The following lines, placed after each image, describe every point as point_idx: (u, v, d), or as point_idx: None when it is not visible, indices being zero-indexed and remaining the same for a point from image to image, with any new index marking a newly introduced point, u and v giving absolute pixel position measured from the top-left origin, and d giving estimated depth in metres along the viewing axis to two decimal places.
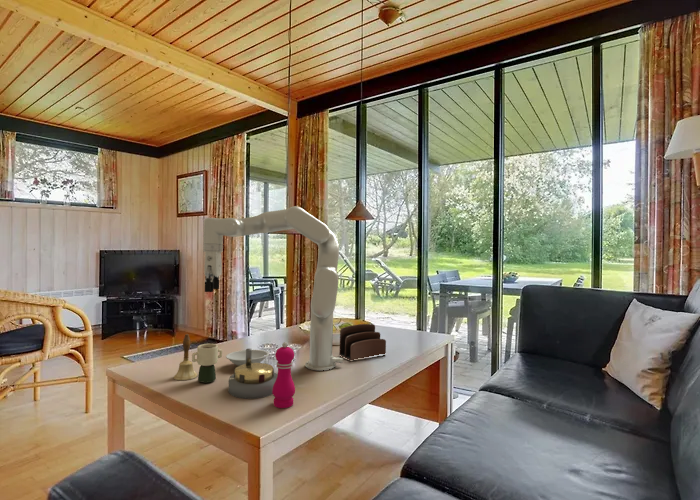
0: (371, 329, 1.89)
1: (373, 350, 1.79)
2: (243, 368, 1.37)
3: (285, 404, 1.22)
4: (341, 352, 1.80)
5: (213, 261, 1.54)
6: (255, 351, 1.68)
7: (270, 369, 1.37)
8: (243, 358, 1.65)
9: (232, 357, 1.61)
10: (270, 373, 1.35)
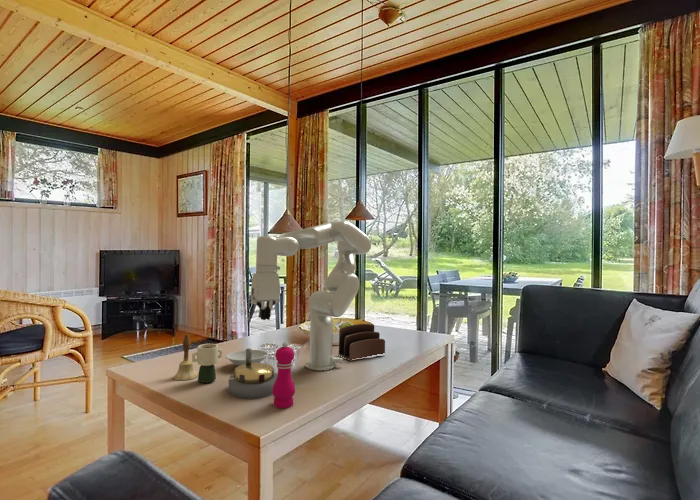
0: (370, 329, 1.89)
1: (372, 350, 1.79)
2: (243, 368, 1.37)
3: (285, 404, 1.22)
4: (340, 352, 1.80)
5: None
6: (255, 351, 1.68)
7: (270, 369, 1.37)
8: (243, 358, 1.65)
9: (232, 357, 1.61)
10: (270, 373, 1.35)
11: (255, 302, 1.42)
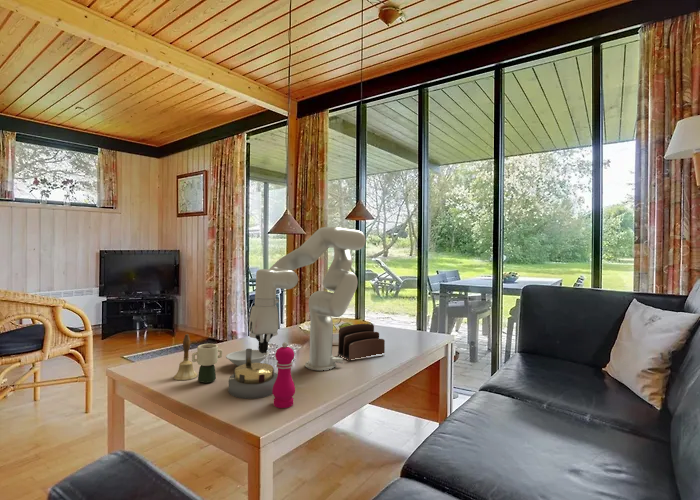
0: (370, 329, 1.89)
1: (372, 350, 1.79)
2: (243, 368, 1.37)
3: (285, 404, 1.22)
4: (340, 352, 1.81)
5: None
6: (255, 351, 1.68)
7: (270, 369, 1.37)
8: (243, 358, 1.65)
9: (232, 357, 1.61)
10: (270, 373, 1.35)
11: (254, 335, 1.42)
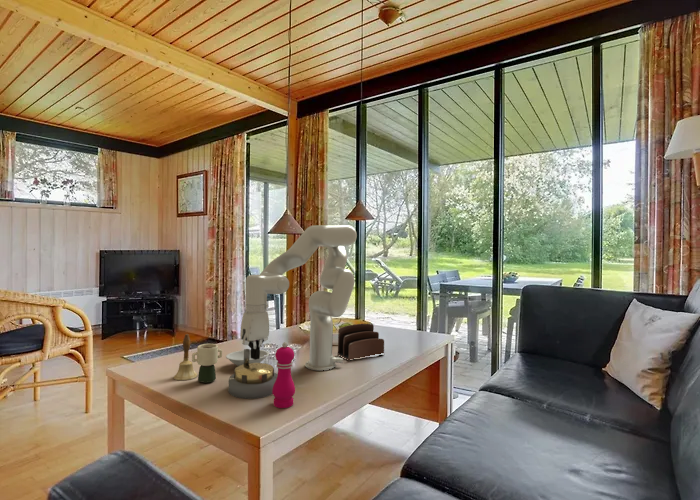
0: (369, 329, 1.89)
1: (371, 350, 1.79)
2: (243, 368, 1.37)
3: (285, 404, 1.22)
4: (339, 352, 1.81)
5: None
6: None
7: (270, 368, 1.37)
8: (243, 358, 1.65)
9: (232, 357, 1.61)
10: (271, 372, 1.36)
11: (247, 343, 1.40)
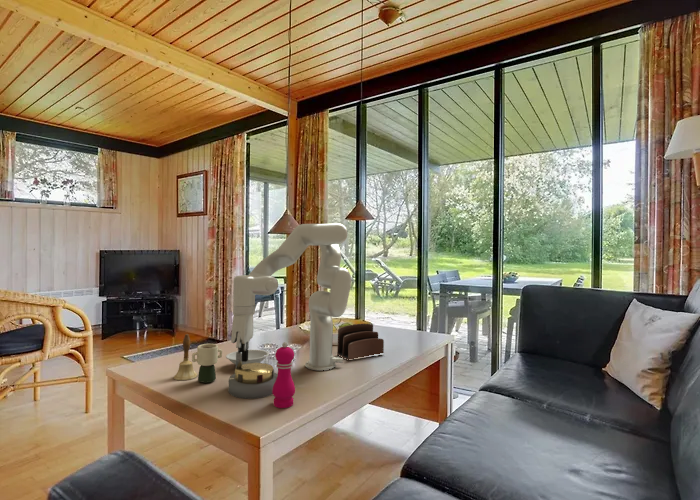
0: (369, 329, 1.90)
1: (371, 349, 1.80)
2: (245, 371, 1.34)
3: (285, 404, 1.22)
4: (339, 351, 1.81)
5: None
6: (255, 351, 1.68)
7: (267, 365, 1.41)
8: None
9: (232, 357, 1.61)
10: None
11: (240, 345, 1.36)
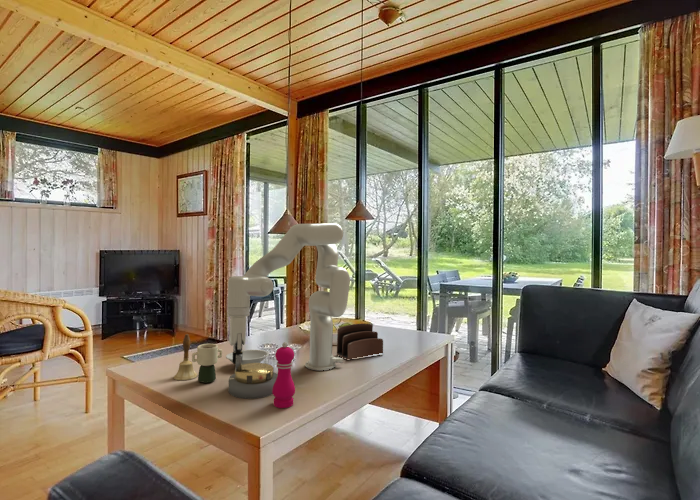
0: (368, 328, 1.90)
1: (370, 349, 1.80)
2: (250, 372, 1.33)
3: (285, 404, 1.22)
4: (338, 351, 1.81)
5: None
6: (255, 351, 1.68)
7: (260, 363, 1.43)
8: (243, 358, 1.65)
9: (232, 357, 1.61)
10: None
11: (240, 347, 1.35)
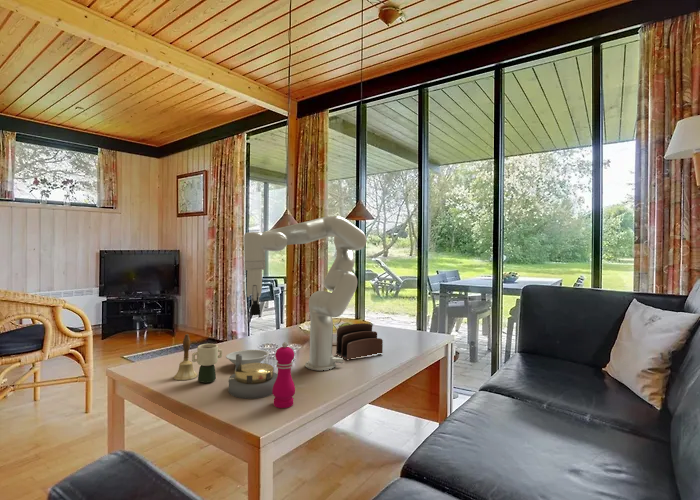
0: (368, 328, 1.90)
1: (370, 349, 1.80)
2: (250, 372, 1.33)
3: (285, 404, 1.22)
4: (338, 351, 1.81)
5: None
6: (255, 351, 1.68)
7: (260, 363, 1.43)
8: (243, 358, 1.65)
9: (232, 357, 1.61)
10: None
11: (256, 298, 1.41)
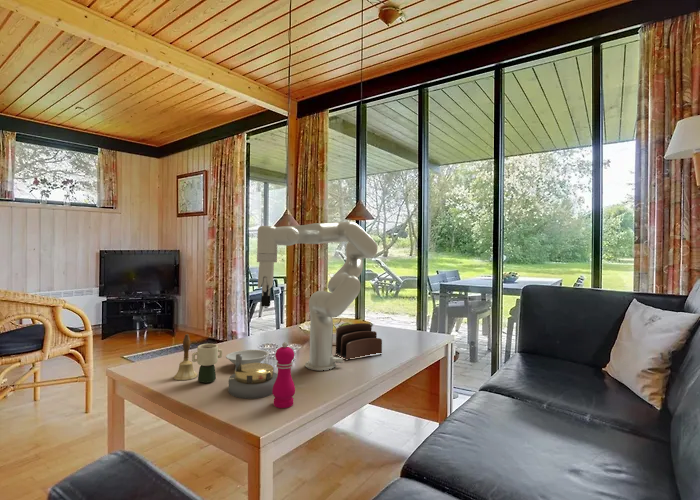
0: (367, 328, 1.90)
1: (369, 349, 1.80)
2: (250, 372, 1.33)
3: (285, 404, 1.22)
4: (337, 351, 1.82)
5: None
6: (255, 351, 1.68)
7: (260, 363, 1.43)
8: (243, 358, 1.65)
9: (232, 357, 1.61)
10: None
11: (266, 290, 1.46)
